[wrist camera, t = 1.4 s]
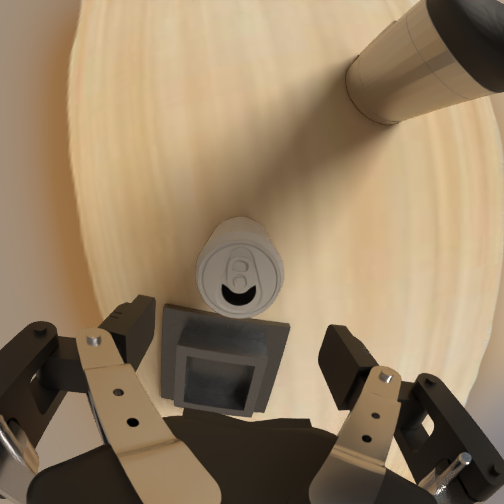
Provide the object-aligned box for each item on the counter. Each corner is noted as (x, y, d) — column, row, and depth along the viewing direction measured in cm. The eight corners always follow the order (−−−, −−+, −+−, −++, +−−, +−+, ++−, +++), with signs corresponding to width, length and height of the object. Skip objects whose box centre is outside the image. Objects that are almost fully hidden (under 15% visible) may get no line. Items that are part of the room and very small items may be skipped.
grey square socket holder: (165, 303, 31) (155, 320, 27) (289, 323, 32) (295, 342, 28) (162, 393, 34) (155, 413, 30) (263, 408, 36) (266, 429, 31)
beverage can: (209, 271, 30) (192, 321, 19) (211, 214, 29) (192, 231, 17) (266, 274, 31) (282, 325, 19) (271, 217, 29) (291, 236, 18)
